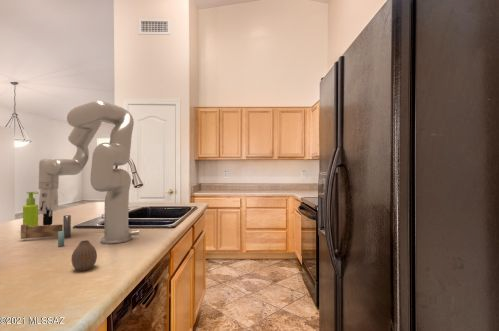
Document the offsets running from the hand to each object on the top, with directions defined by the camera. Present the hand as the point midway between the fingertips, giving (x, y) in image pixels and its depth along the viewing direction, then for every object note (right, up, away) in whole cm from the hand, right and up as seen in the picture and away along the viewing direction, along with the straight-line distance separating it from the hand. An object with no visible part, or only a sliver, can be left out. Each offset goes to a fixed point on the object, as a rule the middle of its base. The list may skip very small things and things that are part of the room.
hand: (47, 224), depth 127 cm
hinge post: (+11, -5, -3) cm, 13 cm away
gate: (+2, -4, -6) cm, 8 cm away
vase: (+42, -5, -41) cm, 59 cm away
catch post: (+18, -5, -16) cm, 25 cm away
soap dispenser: (-14, -6, +8) cm, 17 cm away
